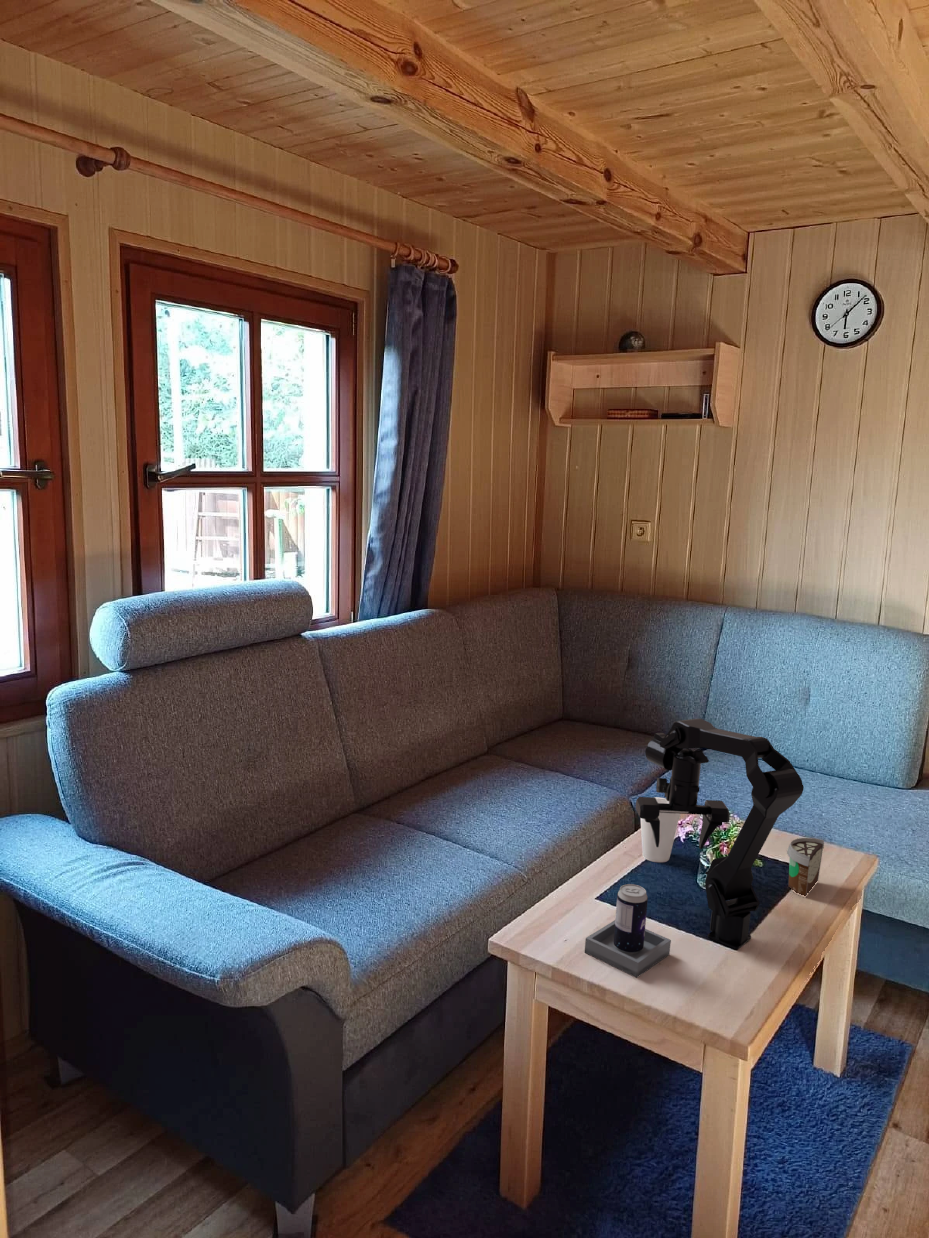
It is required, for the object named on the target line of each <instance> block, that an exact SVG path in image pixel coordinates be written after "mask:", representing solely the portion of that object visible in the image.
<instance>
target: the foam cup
mask: <svg viewBox="0 0 929 1238" xmlns="http://www.w3.org/2000/svg"><path fill="white" fill-rule="evenodd" d="M653 797H654V796H653ZM654 798H656V800H657V802H658V803H665V804H669V801H667V800H666V797H658V796H657V797H654ZM681 815H682V814H679V813H659V816H658V818H659V820H660V841H659V847H656V844H655V840H654V836H653V832H652V828H651V825H650V823H648V822H646V821H645V819H642V818H640V835H641V853H642V857H643V858H644V859H645V860H647V861H650V862H653V863H666V862H668V861H669V860H670V857H671V854H672V850H673V845H674V841H675V836H676V832H677V828H678V824H679V820H680V819H681V818H680V817H681Z"/></svg>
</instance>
